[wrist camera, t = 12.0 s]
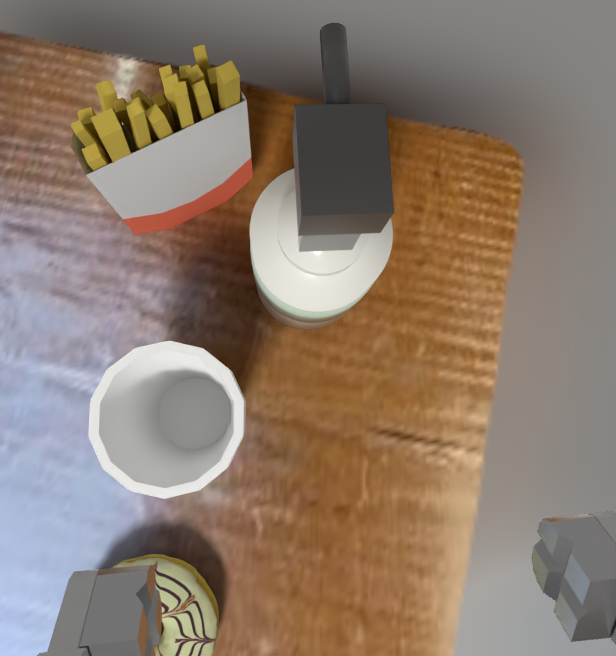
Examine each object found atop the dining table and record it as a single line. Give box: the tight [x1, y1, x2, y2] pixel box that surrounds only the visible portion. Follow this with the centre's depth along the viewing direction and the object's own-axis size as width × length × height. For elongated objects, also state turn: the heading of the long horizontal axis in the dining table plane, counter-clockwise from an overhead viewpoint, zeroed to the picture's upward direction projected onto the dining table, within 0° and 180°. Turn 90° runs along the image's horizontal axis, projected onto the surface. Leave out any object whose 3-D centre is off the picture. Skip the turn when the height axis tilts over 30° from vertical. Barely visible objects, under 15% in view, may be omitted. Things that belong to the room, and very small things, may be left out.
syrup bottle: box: [250, 169, 393, 330], centre depth 38 cm, size 9×9×22 cm
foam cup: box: [89, 341, 246, 499], centre depth 40 cm, size 10×9×13 cm
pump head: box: [293, 23, 394, 236], centre depth 29 cm, size 4×9×9 cm, turn 3°
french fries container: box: [71, 45, 253, 234], centre depth 40 cm, size 5×11×18 cm, turn 118°
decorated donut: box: [112, 554, 219, 656], centre depth 43 cm, size 10×11×4 cm
